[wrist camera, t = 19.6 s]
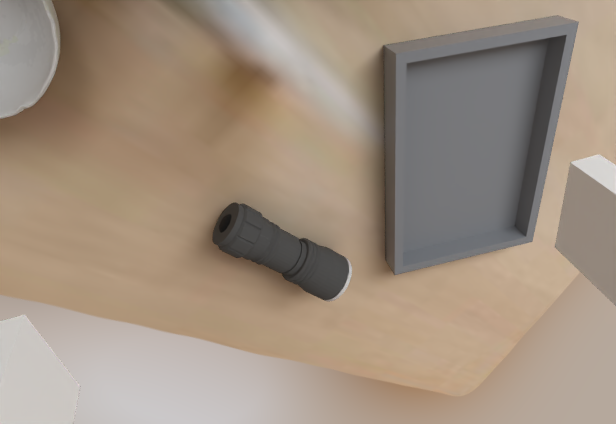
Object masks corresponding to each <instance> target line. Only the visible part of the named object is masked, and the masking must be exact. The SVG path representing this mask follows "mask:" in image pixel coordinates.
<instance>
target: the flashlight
mask: <svg viewBox="0 0 616 424" xmlns="http://www.w3.org/2000/svg"><path fill="white" fill-rule="evenodd" d="M213 242H214V244H216V245H218V247H219V249H220V250H222V251H223V252H226V253H228V254H230V255H232V256H234V257H236V258H240V257H243V258H245V259H247V260H251V261H253V262H256V263H257V264H262V265H264V266H266V267H269V268H271V269H273V270H275V271H277V272H279V273H282V275H283V277H284V278H285V279H286V280H287V281H290V282H292V283H294V284H298V285H299V286H300V287H301V288H302V289H303V290H304V291H306V292H308V293H310V294H312V295H314V296H316V297H319V298H321V299H323V300H325V301H333V300H336V299H337V298H339V297H340V296H341V295H342V294H343V293H344V291H345V290H346V288H347V286H348V284H349V282H350V279H351V274H352V267H351V263H350V261H349V260H348V259H347V258H345V257H344V256H342V255H340V254H338V253H336V252H334V251H333V250H331V249H329V248H327V247H323V246H318V245H317V244H315V243H313V242H312V241H309V240H308V239H305V238H302V239H298V238H297V237H295V236H293V235H291V234H289V233H288V232H286V231H284V230H282V229H280V227H279V226H277V225H275V224H274V223H272V222H269V220H267V219H265V218H264V217H262V214H261V213H260V212H258V211H256V210H254V209H252V208H251V207H249V206H247V205H245V204H240V205H239V204H238V203H232V204H230V205H229V206H228V207H227V208H226V209H225V210H224V211H223V213H222V214H221V216H220V217H219V219H218V221H217V223H216V226H215V228H214V232H213Z"/></svg>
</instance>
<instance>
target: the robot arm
mask: <svg viewBox="0 0 616 424" xmlns="http://www.w3.org/2000/svg"><path fill="white" fill-rule="evenodd" d="M555 248H556V249H557V250H558V251H559V252H560V253H561V254H562V255H563V256H564V257H566V258H567V259H568V260H569V261H570V262H571V263H572V264H573V265H574V266H575V267H576V268H577V269H578V270H579V271H580V272H581V273H582V274H583V275H584V276H585V277H586V278H587V279H588V280H590V281H591V282H592V283H593V284H594V285H595V286H596V287H597V288H598V289H599V290H600V291H601V292H602V293H603V294H604V295H605V296H606V297H607V298H608V299H609V300H610V301H611V302H612V303H613V304H614V305H615V306H616V165H615V164H613V163H612V162H610V161H609V160H607V159H606V158H604V157H602V156H601V155H599V154H598V155H595V156H591V157H588V158H584V159H580V160H577V161H573V162H570V167H569V173H568V178H567V183H566V189H565V194H564V200H563V205H562V211H561V216H560V221H559V227H558V232H557V238H556V243H555ZM79 391H80V385H79V384H78V383H77V382H76V380H75V379H74V377H73V376H72V375H71V374H70V372H69V371H68V370H67V368H66V367H65V366H64V365H63V363H62V362H61V361H60V359H59V358H58V357H57V355H56V354H55V353H54V352H53V350H52V349H51V348H50V346H49V345H48V344H47V343H46V341H45V340H44V339H43V337H42V336H41V335H40V334H39V332H38V331H37V330H36V328H35V327H34V326H33V324H32V323H31V322H30V321H29V319H28V318H27V317H26V315H20V316H16V317H13V318H9V319H6V320H2V321H0V424H73V423H74V417H75V412H76V407H77V402H78V397H79Z"/></svg>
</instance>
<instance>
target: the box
mask: <svg viewBox="0 0 616 424" xmlns="http://www.w3.org/2000/svg"><path fill="white" fill-rule="evenodd" d="M578 23H579V22H577V21H574V20H571V19H568V18H564V17H561V16H558V15H557V16H552V17H546V18H540V19H534V20H528V21H522V22H517V23H511V24H505V25H499V26H493V27H487V28H482V29H476V30H470V31H464V32H458V33H452V34H447V35H441V36H435V37H429V38H423V39H417V40H411V41H406V42H400V43H394V44H388V45H384V138H385V255H386V261H387V263H388V264H389V266H390V268H391V269H392V271H393V273H394V275H397V274H401V273H405V272H409V271H413V270H417V269H421V268H426V267H430V266H434V265H438V264H442V263H446V262H450V261H455V260H459V259H463V258H467V257H471V256H475V255H479V254H483V253H488V252H492V251H496V250H500V249H504V248H508V247H512V246H517V245H521V244H525V243H529V242H532V241H533V236H534V231H535V226H536V222H537V217H538V212H539V207H540V203H541V198H542V193H543V189H544V184H545V179H546V174H547V170H548V165H549V160H550V155H551V151H552V146H553V141H554V136H555V132H556V127H557V122H558V118H559V113H560V108H561V103H562V99H563V94H564V89H565V84H566V80H567V75H568V70H569V66H570V61H571V56H572V51H573V47H574V42H575V37H576V32H577V28H578Z"/></svg>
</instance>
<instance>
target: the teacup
mask: <svg viewBox="0 0 616 424" xmlns="http://www.w3.org/2000/svg"><path fill="white" fill-rule="evenodd" d="M59 55H60V28H59V23H58V18H57V15H56V11H55V8H54V5H53V3H52V1H51V0H0V118H5V117H11V116H14V115H17V114H18V113H19V112H21V111H23V109H26V108H29V107H31V106H33V105H34V104H35V103H36V102H37V101H38V100H39V99H40V98H41V97H42V96H43V94H44V93H45V91H46V90H47V88H48V86H49V84H50V83H51V81H52V79H53V77H54V74H55V72H56V68H57V65H58V60H59Z"/></svg>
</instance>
